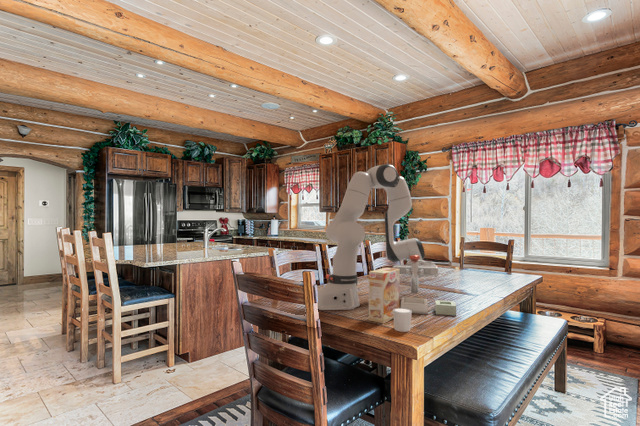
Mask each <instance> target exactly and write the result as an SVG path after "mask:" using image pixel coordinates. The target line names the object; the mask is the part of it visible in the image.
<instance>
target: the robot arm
mask: <svg viewBox="0 0 640 426" xmlns="http://www.w3.org/2000/svg"><path fill="white" fill-rule="evenodd" d="M377 189H383V190H384V191H385V192H386V195H387V201H388V208H387V210H386V211H385V214H384V229H385V230H384V232H385V233H384V234H385V256H386V259H387V260H388V261H390V262H392V263H394V265H393V266H392V267H391V268H396V269H400V275H407V276H409V277H410V278H411V259H409V256H410V255H418V256H420V259H419V260H418V278H423V277H435V276H436V277H437V276H439V267H438V265H436V264H435V262H434V261H428V260H424V259H425V258H426V254H425V252H426V251H425V249H424V248H425V247H424V245H423V243H422V241H421V240H420V239H418V238H417V237H412V238H408V239H403V240H399V241H395V240H394V224H396V222H397V221H398V220H400V219H401V218H403V217H404V216H406V215H407V214H408V213H409V212H410V211H411V210H412V207H413V202H412V201H413V200H412V197H411V192H410V189H409V186H408V184H407V181H406V179H405V178H404V177H403V176H401V175H400V174H399V172H398V170H397V169H396V167H395V166H394V165H392V164H390V163H384V164H381V165H375V166H373V167H370V168H368V169H366V170H365V171H357V172H355V173H353V175H352V177H351V179H350V181H349V182H348V185H347V188H346V191H345V193H344V197H343V199H342V202H341V204H340V207H339V208H338V210H337V212H336V214H335V216H334V217H333V219H332V221H331V222H330V223H329V224H328V225H327V227H326V229H325V236H326V238H327V239H328V240H329V241H331V242H333V243H335V244H337V246H336V251H335V254H334V255H333V257H332V273H331V275H330V274H326V275H325V278H326V279H327V280H328V282H326V284H325V285H323V287H321V288H320V289H318V290H317V292H318V308H319V311H337V310H338V311H339V310H340V311H342V310H343V311H344V310H345V311H347V310H350V311H352V310H354V309H355V308H358V307H360V305H361V304H360V299H359V294H358V284H359V283H358V281H359V279H358V274H357V263H358V262H357V260H358V253H359V249H360V246H361V243H363V241H364V240H365V238H366V230H365V228H364V226H363V225H362V224H360V223H358V222H357V221H358V219H359V218H360V217H361V216H362V215H364V212H365V210H366V206H367V203H368V199H369V197H370V193H371V191H372V190H377ZM406 260H407V262H406V264H395V263H398V262H401V261H406Z"/></svg>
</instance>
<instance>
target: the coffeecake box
mask: <svg viewBox="0 0 640 426" xmlns="http://www.w3.org/2000/svg"><path fill="white" fill-rule="evenodd" d="M400 276H401V274H400V269H396V268H392V267H382V268H379V269H375V270H371V271H368V321H370V322H374V323H379V324H385V323H387V322H390V321H391V320H394V318H393V309H396V308H400V283H401V282H400V278H401V277H400Z"/></svg>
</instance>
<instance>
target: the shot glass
mask: <svg viewBox="0 0 640 426" xmlns="http://www.w3.org/2000/svg"><path fill="white" fill-rule="evenodd" d="M412 314H413V313H412V311H411V310H409V309H405V308H401V307H399V308H396V309H393V326H394V328H393V329H394V330H395V331H396V332H400V333H407V332H410V331H411V324H412Z"/></svg>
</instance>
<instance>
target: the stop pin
mask: <svg viewBox="0 0 640 426" xmlns="http://www.w3.org/2000/svg"><path fill="white" fill-rule="evenodd" d="M409 259H411V277H410V293H411V294H415V295H418V294H419V293H420V292H419V288H420V287H419V286H420V284H419V278H420V277H419V278H418V260H419V259H420V256H418V255H410V256H409ZM409 259H408V260H409Z"/></svg>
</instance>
